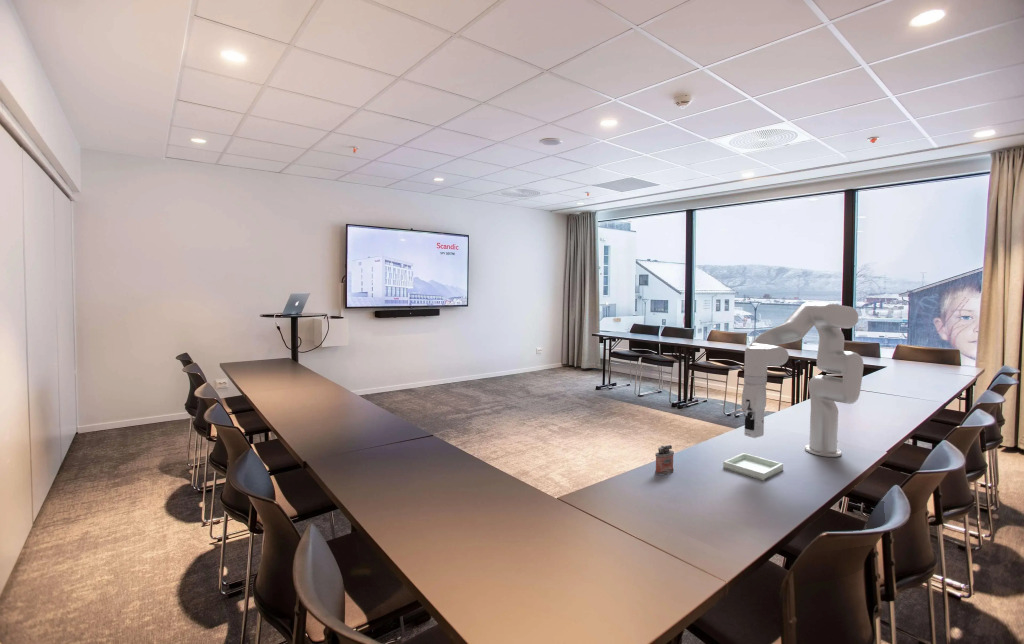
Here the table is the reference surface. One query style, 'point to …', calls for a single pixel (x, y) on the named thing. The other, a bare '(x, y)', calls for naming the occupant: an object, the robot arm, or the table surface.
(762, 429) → the skincare box
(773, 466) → the sage tray
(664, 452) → the lighter
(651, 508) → the table surface
